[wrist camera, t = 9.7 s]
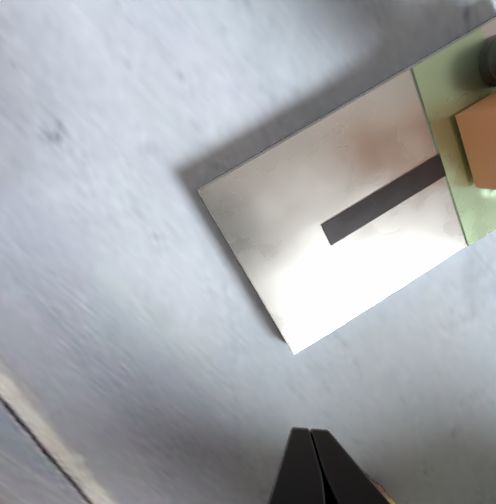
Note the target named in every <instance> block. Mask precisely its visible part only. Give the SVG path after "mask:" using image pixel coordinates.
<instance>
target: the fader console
mask: <svg viewBox="0 0 496 504" xmlns="http://www.w3.org/2000/svg"><path fill="white" fill-rule="evenodd" d="M495 91H496V16H495V17H494V18H492V19H490V20H488V21H487V22H485V23H483V24H482V25H480V26H478V27H476V28H475V29H473V30H471V31H469V32H468V33H466V34H464V35H462V36H461V37H459V38H457V39H456V40H454V41H452V42H450V43H449V44H447V45H445V46H443V47H442V48H440V49H438V50H437V51H435V52H433V53H431V54H430V55H428V56H426V57H424V58H423V59H421V60H419V61H418V62H416V63H414V64H412V65H411V66H409V67H407V68H405V69H404V70H402V71H400V72H399V73H397V74H395V75H393V76H392V77H390V78H388V79H386V80H385V81H383V82H381V83H380V84H378V85H376V86H374V87H373V88H371V89H369V90H367V91H366V92H364V93H362V94H360V95H359V96H357V97H355V98H354V99H352V100H350V101H348V102H347V103H345V104H343V105H341V106H340V107H338V108H336V109H335V110H333V111H331V112H329V113H328V114H326V115H324V116H322V117H321V118H319V119H317V120H316V121H314V122H312V123H310V124H309V125H307V126H305V127H303V128H302V129H300V130H298V131H297V132H295V133H293V134H291V135H290V136H288V137H286V138H284V139H283V140H281V141H279V142H278V143H276V144H274V145H272V146H271V147H269V148H267V149H265V150H264V151H262V152H260V153H258V154H257V155H255V156H253V157H252V158H250V159H248V160H246V161H245V162H243V163H241V164H239V165H238V166H236V167H234V168H233V169H231V170H229V171H227V172H226V173H224V174H222V175H220V176H219V177H217V178H215V179H214V180H212V181H210V182H208V183H207V184H205V185H203V186H201V187H200V188H198V189H196V190H197V192H198V193H199V195H200V197H201V198H202V200H203V202H204V204H205V205H206V207H207V209H208V210H209V212H210V214H211V216H212V217H213V219H214V221H215V222H216V224H217V226H218V227H219V229H220V231H221V233H222V234H223V236H224V238H225V239H226V241H227V243H228V245H229V246H230V248H231V250H232V251H233V253H234V255H235V257H236V258H237V260H238V262H239V263H240V265H241V267H242V268H243V270H244V272H245V274H246V275H247V277H248V279H249V280H250V282H251V284H252V286H253V287H254V289H255V291H256V292H257V294H258V296H259V298H260V299H261V301H262V303H263V304H264V306H265V308H266V309H267V311H268V313H269V315H270V316H271V318H272V320H273V321H274V323H275V325H276V327H277V328H278V330H279V332H280V333H281V335H282V337H283V339H284V340H285V342H286V344H287V345H288V347H289V348H290V350H291V351H292V353H293V354H294V355H295V354H297V353H299V352H300V351H302V350H303V349H305V348H307V347H308V346H310V345H311V344H313V343H314V342H316V341H318V340H319V339H321V338H322V337H324V336H325V335H327V334H329V333H330V332H332V331H333V330H335V329H336V328H338V327H340V326H341V325H343V324H344V323H346V322H348V321H349V320H351V319H352V318H354V317H355V316H357V315H359V314H360V313H362V312H363V311H365V310H366V309H368V308H370V307H371V306H373V305H374V304H376V303H377V302H379V301H381V300H382V299H384V298H385V297H387V296H389V295H390V294H392V293H393V292H395V291H396V290H398V289H400V288H401V287H403V286H404V285H406V284H407V283H409V282H411V281H412V280H414V279H415V278H417V277H418V276H420V275H422V274H423V273H425V272H426V271H428V270H430V269H431V268H433V267H434V266H436V265H437V264H439V263H441V262H442V261H444V260H445V259H447V258H448V257H450V256H452V255H453V254H455V253H456V252H458V251H459V250H461V249H463V248H464V247H466V246H467V245H468V246H469V245H471V244H473V243H474V242H476V241H477V240H479V239H481V238H482V237H484V236H485V235H487V234H488V233H490V232H492V231H493V230H495V229H496V189H487V188H476V187H475V183H474V180H473V176H472V173H471V169H470V166H469V162H468V159H467V155H466V152H465V149H464V145H463V142H462V138H461V135H460V131H459V128H458V124H457V121H456V118H455V115H457V114H458V113H460V112H462V111H464V110H465V109H467V108H469V107H470V106H472V105H474V104H475V103H477V102H479V101H480V100H482V99H484V98H485V97H487V96H489V95H490V94H492V93H494V92H495Z"/></svg>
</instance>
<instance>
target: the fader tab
mask: <svg viewBox="0 0 496 504" xmlns="http://www.w3.org/2000/svg"><path fill="white" fill-rule="evenodd" d="M455 118H456V121H457V124H458V128H459V131H460V135H461V138H462V142H463V145H464V149H465V152H466V155H467V159H468V162H469V166H470V169H471V173H472V176H473V180H474V183H475V187H476V188H487V189H496V91H495V92H494V93H492V94H490V95H489V96H487V97H485V98H484V99H482V100H480V101H479V102H477V103H475V104H474V105H472V106H470V107H469V108H467V109H465V110H464V111H462V112H460V113H458V114H457V115H455Z"/></svg>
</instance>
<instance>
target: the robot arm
mask: <svg viewBox="0 0 496 504" xmlns="http://www.w3.org/2000/svg"><path fill="white" fill-rule="evenodd" d="M268 504H391V503H390V502H389V501H388V500H387V499H386V497H385V496H384V495H383V494H382V493H381V492H380V490H379V489H378V488H377V487H376V486H375V485H374V483H373V482H372V481H371V480H370V479H369V478H368V476H367V475H366V474H365V473H364V472H363V470H362V469H361V468H360V467H359V466H358V465H357V463H356V462H355V461H354V460H353V459H352V458H351V456H350V455H349V454H348V453H347V452H346V451H345V449H344V448H343V447H342V446H341V445H340V443H339V442H338V441H337V440H336V439H335V438H334V436H333V435H332V434H331V433H330V432H329V431H328V430H325V429H311V430H309V429H308V428H299V427H293V428H292V429H291V431H290V434H289V437H288V440H287V443H286V447H285V450H284V453H283V456H282V459H281V462H280V466H279V469H278V472H277V475H276V478H275V481H274V485H273V488H272V491H271V494H270V497H269V501H268Z"/></svg>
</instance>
